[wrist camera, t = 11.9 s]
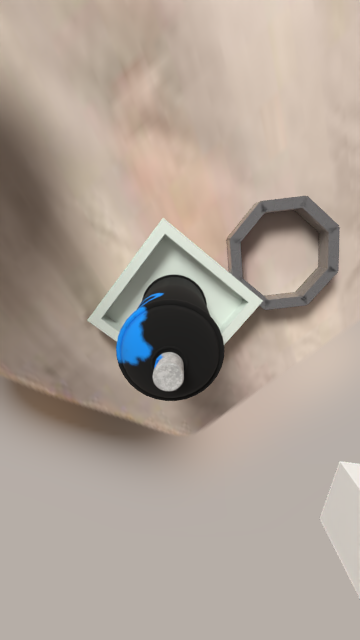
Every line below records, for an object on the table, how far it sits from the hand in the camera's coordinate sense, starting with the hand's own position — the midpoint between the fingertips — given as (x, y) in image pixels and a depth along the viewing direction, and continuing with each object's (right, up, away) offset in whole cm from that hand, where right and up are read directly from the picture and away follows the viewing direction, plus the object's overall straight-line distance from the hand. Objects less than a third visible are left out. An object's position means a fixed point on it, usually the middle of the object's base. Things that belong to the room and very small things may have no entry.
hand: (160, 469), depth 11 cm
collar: (+13, +14, +26) cm, 32 cm away
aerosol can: (0, +7, +27) cm, 28 cm away
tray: (0, +7, +28) cm, 29 cm away
